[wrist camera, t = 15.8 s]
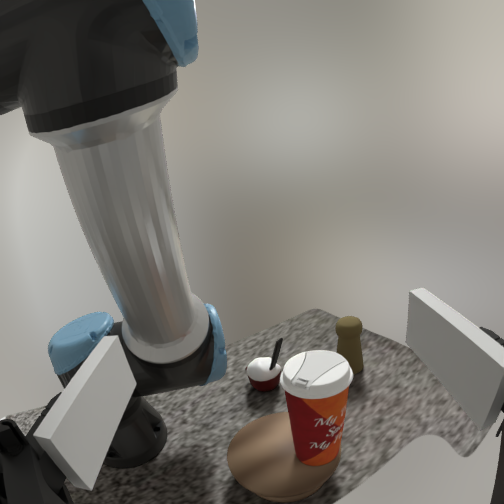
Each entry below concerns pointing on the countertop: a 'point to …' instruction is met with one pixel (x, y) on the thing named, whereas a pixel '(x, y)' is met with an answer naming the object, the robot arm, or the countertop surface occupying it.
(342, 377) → the paper cup
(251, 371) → the cocoa
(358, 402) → the countertop surface
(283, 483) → the pedestal stand
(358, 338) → the cork
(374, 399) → the countertop surface
